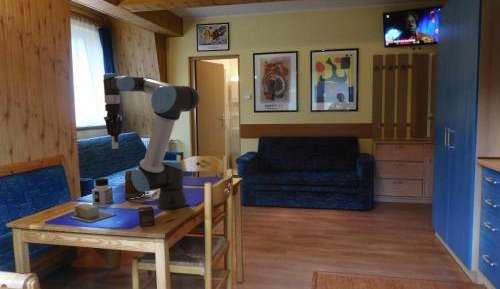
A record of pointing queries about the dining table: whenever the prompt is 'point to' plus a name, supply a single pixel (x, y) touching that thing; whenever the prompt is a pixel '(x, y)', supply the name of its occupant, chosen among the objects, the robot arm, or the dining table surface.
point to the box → (146, 216)
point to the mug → (131, 187)
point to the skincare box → (86, 210)
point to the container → (102, 192)
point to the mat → (93, 219)
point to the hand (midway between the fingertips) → (115, 148)
